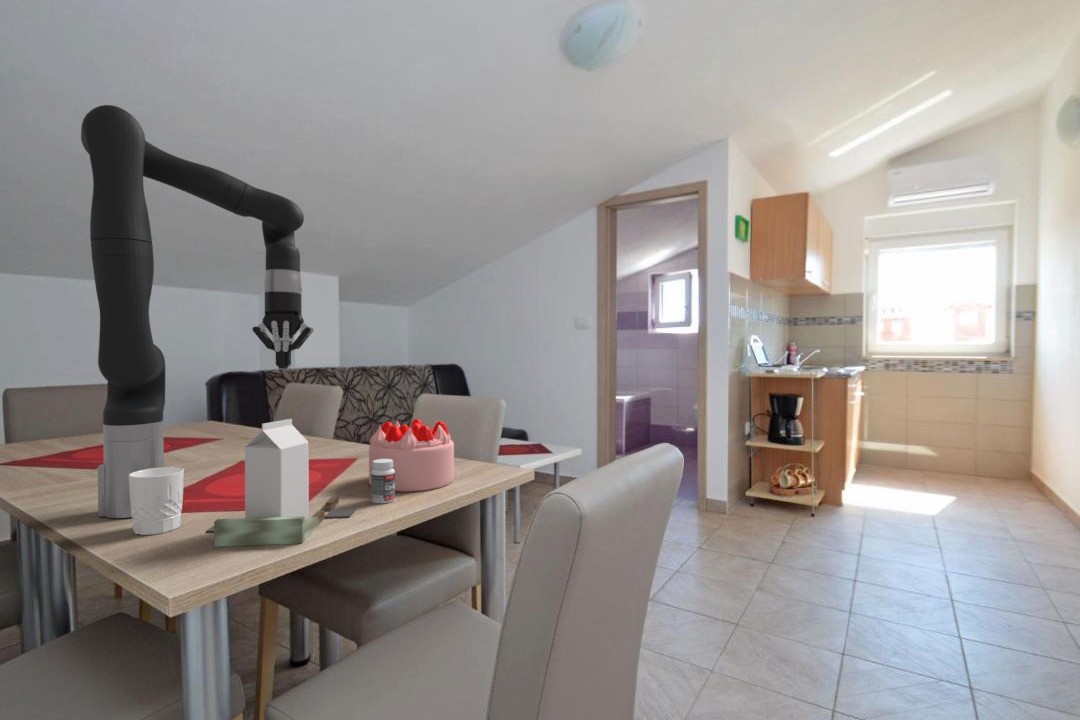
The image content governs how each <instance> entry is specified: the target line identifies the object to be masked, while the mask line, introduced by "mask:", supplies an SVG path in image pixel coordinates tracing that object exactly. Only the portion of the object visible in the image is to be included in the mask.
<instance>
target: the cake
mask: <svg viewBox="0 0 1080 720" xmlns="http://www.w3.org/2000/svg"><path fill="white" fill-rule="evenodd" d="M369 443H370V445H369V446H368V484H369V485H370V486H371V472H372V470H374V468H373V461H374V460H377V459H392V460H393V467H392V468H393V469H394V470H395V493H397V492H400V493H401V492H403V493H407V492H408V493H410V492H422V491H423V492H424V491H429V490H436V489H440V488H443V487H446V486H448V485H450V484H451V483H452V482H453V480H455V479H454V478H455V442H454V441H453V440H452V439H451V434H450V431H449V429H448V427H447V424H446V423H445V422H444V421H441V420H439V421H438V420H435V422H434V424H433V426H432V428H431V429H430V426H428V425H426V424H423V422H422V420H420V419H418V418H416V419H413V420H412V421H411V423H410V424H409V427H408V425H407V424H400V422H399V420H396V422H395V423H394V425H393V423H392V422H391V421H385V422H383V423H382V424H381V425H379V426H378V429H377V430H376V431H375V432H374V433H373V435H371V436H370V438H369Z"/></svg>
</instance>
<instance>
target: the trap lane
mask: <svg viewBox="0 0 1080 720" xmlns="http://www.w3.org/2000/svg"><path fill="white" fill-rule="evenodd" d="M339 498H340V495H338V494H336V495H331V497H330V498H328V500H327V501H325V503H324V504H325V505H324V506H325V507H324V509H325V510H322V509H321V510H317V511H316V512H314V514H312V516H310V517H309V520H308V521H307V522H306V523H305V517H272V518H245V517H244V518H243V517H242V518H240V517H239V518H219V519H218V518H217V519H216V520H215V521H213V526H214V532H213V540H214V543H213V546H214V547H236V546H237V547H238V546H242V545H243V546H264V545H265V546H266V545H269V546H270V545H291V544H292V545H293V544H303V543H304V542H305V541H306V540H307V539H308V538H309V537H310V535H312V533H313V532H314V531H315V529H317V528H318V527H319V525H320V524H321V523H322V522H323V521H324V520H325V519H326V518H325V516H326V514H325V513H326V512H325V511H328V512H329V511H330V510H331V509H335V508H336V506H337V505H338V504H339V501H340V499H339Z"/></svg>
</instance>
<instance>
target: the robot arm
mask: <svg viewBox="0 0 1080 720" xmlns="http://www.w3.org/2000/svg"><path fill="white" fill-rule="evenodd" d="M80 141H81V144H82V146H83V148H84V150H85V152H86V153H87V154H88V156H89V159H90V160H89V161H90V166H91V170H92V171H91V172H92V180H93V181H92V184H93V185H92V186H93V187H92V189H93V190H92V197H91V208H90V219H89V221H90V222H89V223H90V224H89V225H90V226H89V230H90V231H89V234H90V235H89V237H90V239H89V240H90V249H91V250H90V251H91V262H92V270H93V276H94V285H95V291H96V296H97V301H98V302H97V303H98V309H99V337H98V338H99V340H98V356H97V365H98V369H99V371H100V373H101V375H102V377H103V378H104V379H105V380H106V381H107V391H106V392H107V395H106V402H105V405H104V408H103V411H102V432H103V433H102V437H103V439H102V440H103V447H102V448H103V463H102V464H98V466H97V496H98V497H97V499H98V501H97V502H98V503H97V505H98V506H97V508H98V511H97V513H98V515H97V516H98V517H105V518H108V519H127V518H128V519H129V518H132V515H131V505H130V491H129V476H128V475H129V474H130V473H133V472H136V471H140V470H145V469H152V468H162V467H164V466H165V465H164V462H165V461H164V457H165V456H164V453H165V451H164V450H165V449H164V447H165V445H164V409H165V405H166V360H165V356H164V354H163V352H162V350H161V349H160V347H158V346H157V345H156V344H154V340H153V335H152V329H151V322H150V301H151V295H152V291H153V284H154V283H153V282H154V275H155V274H154V273H155V261H154V260H155V259H154V247H153V238H152V232H151V231H152V230H151V223H150V218H149V211H148V205H147V201H146V195H145V191H144V190H145V189H144V177H145V178H147V179H150V180H153V181H155V182H159V183H162V184H164V185H168V186H170V187H172V188H175V189H176V190H177V189H178V190H180V191H183V192H185V193H187V194H190V195H192V196H195V197H197V198H199V199H202V200H204V201H205V202H208V203H210V204H213V205H214V206H217V207H219V208H221V209H223V210H224V211H225V210H226V211H228V212H230V213H233V214H234V215H237V216H240V217H242V218H243V217H244V218H254V219H257V220H259V221H261V228H262V235H263V236H262V237H263V242H264V245H265V274H264V283H263V284H264V316H263V318H262V322H261V323H260V324H258V325H257V326H253V327H252V328H251V329H252V332H253V333H254V334H255V336H257V337H258V339H259V340H260V341H261V342H262V344H263V345H264V346H265V347H266V348H267V349H268V350H271V351H274V352H275V365H276V367H278V368H277V369H278V370H281V369H282V370H287V369H289V367H290V366H291V364H292V352H293V351H295V350H299V349H301V347H302V346H303V345H304V343H305V342H306V341H307V340H308V338H309V337H310V336H311V335H312V334H313V333H314V328H313V327H310V326H309V325H307V323H305V319H304V318H303V316H302V315H303V314H302V313H303V312H302V292H303V288H302V277H301V256H300V255H301V253H300V250H299V248H298V247H296V241H295V240H296V239H295V232H296V231H298V230H299V229H300V228H301V227H302V226H303V224H304V221H305V215H304V213H303V210H302V209H301V207H300V206H299V205H298V204H297V203H295V202H294V201H292V200H291V199H290V198H287V197H285V196H283V195H280V194H276V193H274V192H270V191H268V190H264V189H260V188H257V187H255V186H253V185H250V183H247V182H245V181H243V180H241V179H238V178H237V177H234V176H232V175H230V174H228V173H227V172H224V171H222V170H219V169H217V168H215V167H211V166H209V165H208V166H207V165H205V164H202V163H201V164H200V163H197V162H194V161H190V160H187V159H184V158H181V157H178V156H177V155H173V154H171V153H168V152H167V151H165V150H162V149H160V148H158V147H157V146H155V145H153V144H152V143H150V142H148V141H147V140H146V136H145V132H144V130H143V127H142V126H141V124H140V122H139V121H138V120H137V118H135V116H134V115H132V114H131V113H130V112H129V111H127V110H125V109H124V108H121V107H119V106H116V105H111V104H104V105H98V106H97V107H96V106H95V107H94V108H93V109H91V110H89V111H88V113H86V115H85V116H84V117H83V119H82V123H81V130H80ZM298 331H299V332H300V334H299V335H298V336H297V338H296V339H294V338H295V335H296V334H297V333H298ZM267 332H269V333H270V334H271V335H272V338H271V337H270V336H269V335H268V334H267Z"/></svg>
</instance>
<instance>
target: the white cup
mask: <svg viewBox="0 0 1080 720" xmlns="http://www.w3.org/2000/svg"><path fill="white" fill-rule="evenodd" d="M184 474H185V469H184V468H182V467H177V466H165V467H162V468H152V469H145V470H140V471H136V472H133V473H130V474H129V475H128V476H129V491H130V505H131V515H132V517H131V519H132V533H134V534H135V535H137V534H140V535H139V536H151V535H153V536H154V535H158V534H165V533H168V532H171V531H174V530H176V529H178V528H180V526H181V524H182V511H183V500H184V499H183V498H184V477H185V475H184Z"/></svg>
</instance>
